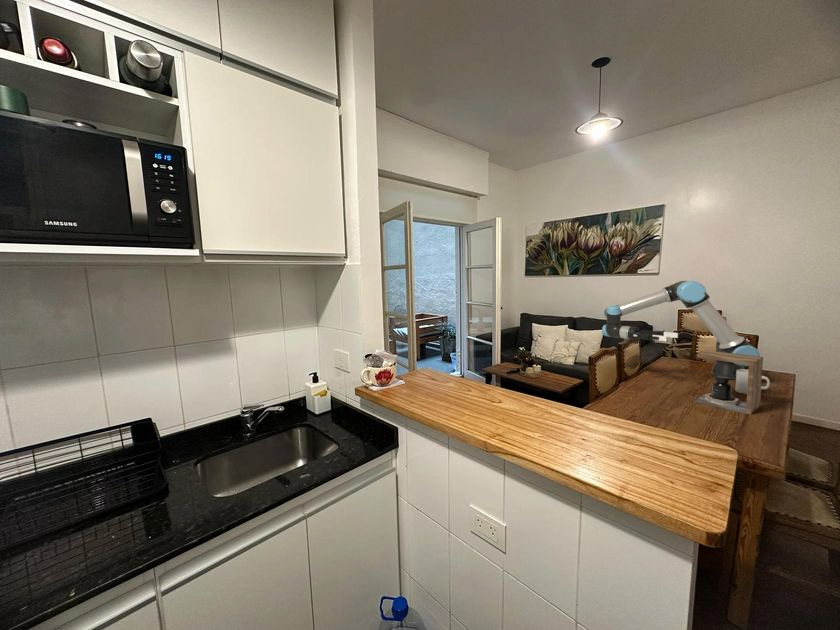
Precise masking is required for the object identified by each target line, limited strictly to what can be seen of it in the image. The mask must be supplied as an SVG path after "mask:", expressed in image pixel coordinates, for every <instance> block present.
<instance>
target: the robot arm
mask: <svg viewBox="0 0 840 630" xmlns="http://www.w3.org/2000/svg"><path fill="white" fill-rule="evenodd" d="M710 297H711V296H710V295H709V294H708V293H707V289H706V288H705V286H704V284H702V283H700V282H698V281H695V280H681V281H680V280H679V281H678V282H675V283H672V284H670V285H668V286H665V287H663V288H661V290H658V291H655V292H652V293H650V294H649V293H648V294H646V295H643V296H640V297H637V298H634V299H631V300H629V301H625V302H622V303H619V304H617V305H609V306H607V307H606V308H605V309H604V311H603V313H604V316H605V318H606V324H604V325H603V326H602V329H601V333H602V335H603V336H605V337H609V338H617V339H624V340H632V341H637V340H638V339H639V340H640V339H641V340H646V341H649V342H652V341H659V342H660V341H661V342H667V341H668V338H672V339H673V338H676V339H678V338H679V333H678V332H672V331H671V332H669V331H665V330H662V331H661V330H645V329H644V330H640V328H639V327H638V326H630V325H628V326H627V325H622V323H621V318H622V317H623V316H626V315H628V314H632V313H635V312H638V311H641V310H644V309H647V308H652V307H654V306H657V305H661V304H663V303H672V302H675V301H676V302H677V301H680V302H682V304H683V305H684V306H685V307H686V309H690V310H692V311H693V312H694V314H695V315H696V316H697V318H699V319H700V321H701V322H702V323H703V325H704V326H705V327H706V328H707V329H708V331H709V332H710V333H711V334H712V335H713V337H714V338H715V339H716V341H715V351H717V352H726V353H734V354H742V355H751V356H759V357H761V355H760V352H759V350H758V348H756V347H754V346H753V345H751V344H750V343H749V342H748V341H747V339H746V338H745V337H744V336H740V335H738V334H737V332H736V331H735V330H734V329H733V328H732V327H731V326H730V325H729V323H728V322H727V321H726V320H725V318H724V317H723V315H721V313H720V312H719V311H718V310H717V308H715V306H714V305H713V304H712V303H711V301H710ZM745 367H749V365H747V364H740V363H733V362H725V361H718V360H715V362H714V364H713V367H712V368H711V370H710V374H711V376H713V377H715V376H726V377H729V380H736V372H737V370H738V369H745Z"/></svg>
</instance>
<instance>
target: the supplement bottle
mask: <svg viewBox="0 0 840 630" xmlns="http://www.w3.org/2000/svg"><path fill="white" fill-rule="evenodd" d="M711 386H712V387H711V389H712V390H711V393H712V398H713V399H718V400H723V401H732V396H733V395H732V393H733V392H732V391H733V385H732V383H730V379H729V377H726V376H714V381H713V382H712V385H711Z"/></svg>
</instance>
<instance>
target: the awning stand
mask: <svg viewBox="0 0 840 630" xmlns="http://www.w3.org/2000/svg"><path fill="white" fill-rule="evenodd" d="M763 357H764V356H760V357H759V356H751V355H742V354H734V353H726V352H717V351H716V350H708V349H707V350H705V351H702V352H700V353H697V354H696V358H697V359H698V358H699V359H704V360H711V361H716V360H718V361H725V362H733V363H740V364H747V365H749V366H748V369H747V370H748V388H747V394H746V401H741V400H740V399H739V398H737V397H735V396H734V395H732V401H723V400H718V399H713V398H712V392H710V393H709V392H708V393H705V394H703V395H701V396H700V397H698V398H696V399H695V400H694V402H695V403H697V404H698V403H699V404H702V405H703V404H704V405H708V406H712V407H717V408H721V409H725V410H728V411H732V412H737V413H741V414H746V415H753V414H754V413H755V412H756V411H758V410H759V409H760V408H761V397H762V396H761V395H762V389H761V386H762V382H763V381H762V380H763V379H762V376H763V361H764V358H763ZM753 412H754V413H753Z"/></svg>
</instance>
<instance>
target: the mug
mask: <svg viewBox="0 0 840 630" xmlns="http://www.w3.org/2000/svg"><path fill="white" fill-rule="evenodd" d="M748 370H749V369H745V368H744V369H738V370H737V372H736V379H735V392H737V393H739V394H742V393H743V394H744V395H747V388H748ZM762 380H764V381H765V380H766V385H765V386H763V385H761V391H762V390H768V389H769V387H770V384H771V382H770V379H769V378H768V377H767V376H765V375H762ZM743 394H742V395H743Z"/></svg>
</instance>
